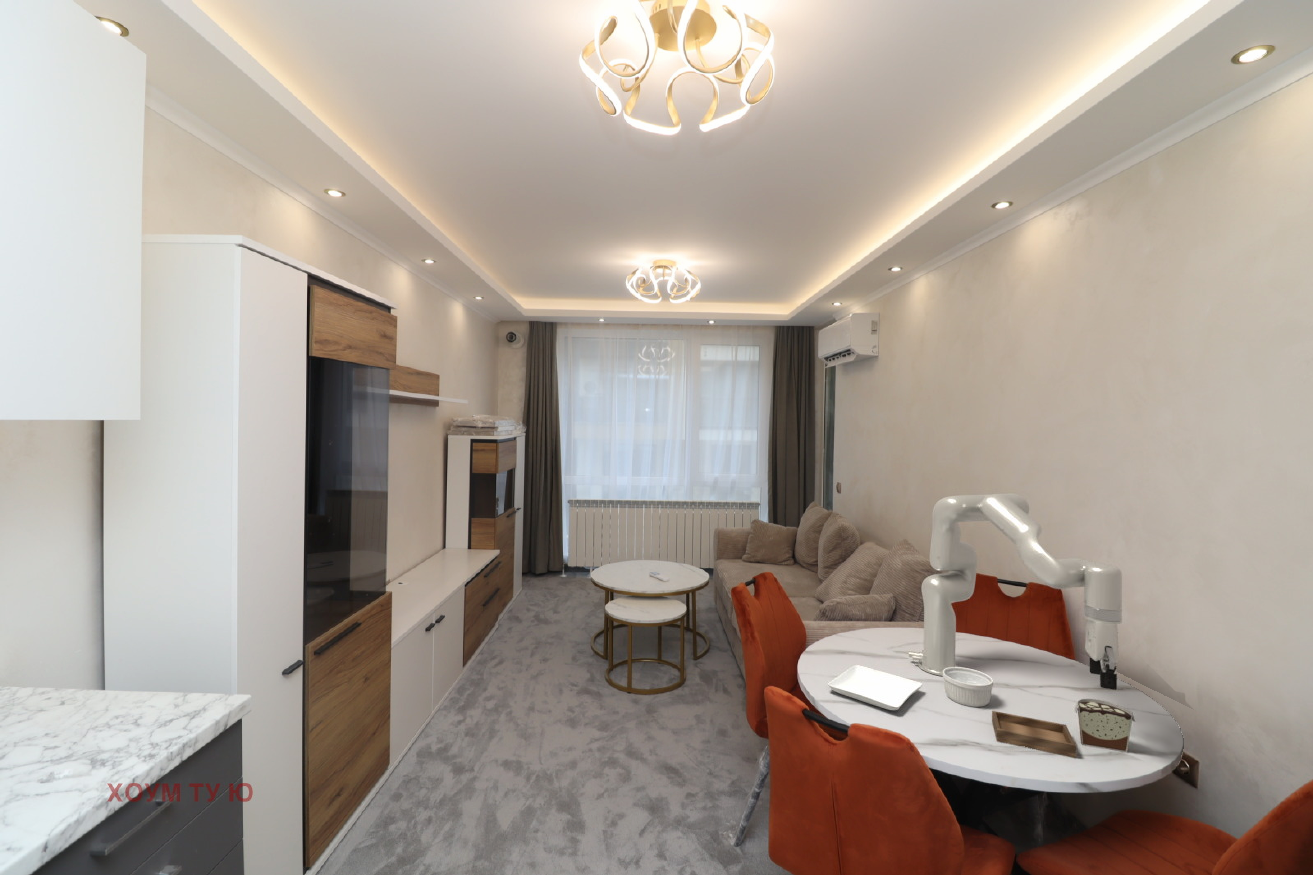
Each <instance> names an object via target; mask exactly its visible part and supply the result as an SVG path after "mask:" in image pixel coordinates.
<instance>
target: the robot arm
mask: <svg viewBox="0 0 1313 875" xmlns="http://www.w3.org/2000/svg"><path fill="white" fill-rule="evenodd" d="M931 513H932V516H931V517H932V518H931V519H932V530H931V540H930V549H929V564H930V566H931V567H932V568H933V569H934V570H936V571H939V572H943V573H935V574H932V575H929V576H927V577H925V578H924V580H923V581H922V582H921V595H922V601H923V649H922V652H921V651H919V652H915V651H908V658H912V660H913V661H914V660H915V661H917V664H918V665H917V666H918V667H919V668H920V669H921V670H922V671H924V672H926V673H929V674H932V675H936V676H940V677H943V670H944V669H946V668H949V667H959V666H958V665H957V664H956V641H957V640H956V638H957V637H956V636H957V635H956V634H957V633H956V632H957V625H956V624H957V617H956V613H955V610H954V609H953V606H952V603H957V602H958V603H959V602H964V601H967V600H968V599H970V598H971V597H972V596H973V595H974V591H975V588H976V587H975V585H976V579H977V578H976V577H977V569H978V555H977V553H976V550H975V548H974V547H973V546H972V544H971V543H968V542H967V541H961V536H962V532H961V527H960V524H959V523H964V522H966V523H967V522H968V523H969V522H985V521H988V522H989V523H991V524H992V525H993V526H994V527H996V528H997V529H998V530H999V531H1000V532H1001V533H1002V534H1004V536H1006V537H1007V538H1008V539H1009V540H1010V541H1011V543H1013V544H1014V545H1015V546H1016V551H1017V554H1018V556H1019V557H1020V558H1019V559H1020V560H1021V562H1022V564H1023V565H1024V566H1025V567H1026V569H1028V570H1029V572H1031V573H1032V575H1034V576H1035V577H1036V578H1037V579H1038V580H1039V581H1041V582H1042V583H1043V584H1044V585H1046V586H1048V587H1050V588H1052V589H1055V590H1063V589H1065V590H1066V589H1071V588H1083V587H1084V588H1083V590H1084V599H1083V603H1084V604H1083V606H1084V607H1083V608H1084V609H1083V610H1084V612H1083V615H1084V618H1085V619H1086V623H1085V625H1086V626H1085V640H1084V641H1085V645H1084V649H1085V651H1086V652H1087V654H1088V655H1089V673H1090V674H1092V675H1099V686H1100V688H1102V689H1107V690H1114V691H1116V690H1117V689H1118V687H1117V686H1118V684H1117V683H1118V680H1117V679H1118V672H1117V666H1116V664H1117V663H1118V662H1119V632H1118V631H1119V630H1118V625H1119V624H1122V622H1123V620H1122V619H1123V618H1122V617H1123V616H1122V615H1123V611H1122V610H1123V609H1122V608H1123V604H1122V603H1123V602H1122V601H1123V596H1122V595H1123V576H1122V575H1123V574H1122V571H1121V569H1120V568H1118V567H1116V566H1114V565H1112V564H1111V565H1110V564H1103V563H1096V562H1093V561H1089V560H1086V559H1083V558H1080V557H1078V558H1077V557H1070V558H1060V559H1057V558H1055V557H1054V556H1053V555H1052V554H1051V553H1049V552H1048V551H1047V550H1046V549H1045V548H1044V547H1043V546H1042V545H1041V543H1040V542H1039V537H1040V535H1041V534H1042V530H1043V529H1042V526H1041V525H1040V524H1039V523H1038V522H1037V521H1036V520H1035V519H1034V518H1033V517H1031V516H1030V515H1029V513H1030V505H1029V503H1028V501H1027V500H1026V499H1025V498H1024V497H1023V496H1022V495H1020V494H1017V493H1014V492H1012V493H1011V492H1008V493H993V494H962V495H961V494H960V495H959V494H957V495H951V496H946V497H943V498H941V499H939V500H938V501H937V502H936V503H935V504H934V506H933V510H932V512H931ZM945 572H946V573H945Z"/></svg>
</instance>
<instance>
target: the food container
mask: <svg viewBox="0 0 1313 875" xmlns="http://www.w3.org/2000/svg"><path fill="white" fill-rule="evenodd" d="M1074 712H1075V713H1076V714H1077V715H1078V724H1079V736H1080V744H1081V745H1082V746H1085V747H1090V748H1098V749H1104V750H1109V751H1115V752H1121V753H1128V750H1129V743H1130V735H1131V731H1132V723H1133V722H1134V723H1135V722H1136V719H1135V716H1134V714H1133V712H1132V711H1131V710H1129V709H1128V708H1126V707H1123V706H1122V705H1119V704H1116V703H1113V702H1110V701H1106V700H1103V699H1102V700H1100V699H1097V698H1081V699H1078V701H1077V702H1076V704H1075V707H1074Z"/></svg>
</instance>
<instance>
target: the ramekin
mask: <svg viewBox="0 0 1313 875" xmlns="http://www.w3.org/2000/svg"><path fill="white" fill-rule="evenodd" d="M942 677H943V685H944V692H945V694H946V696H947V697H948V698H949V699H950V700H951V701H953V702H955V703H957V704H959V705H963V706H967V707H973V708H981V707H986V706H988V704H989V703H990V701H991V698H992V697H991V696H992V692H993V686H994V680H993V678H992V677H991V676H990V675H988V674H986V673H984V672H982V671H979V670H976V669H972V668H967V667H961V666H958V667H949V668H946V669H944V670H943V676H942Z"/></svg>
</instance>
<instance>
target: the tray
mask: <svg viewBox="0 0 1313 875" xmlns="http://www.w3.org/2000/svg"><path fill="white" fill-rule="evenodd" d="M991 724H992V727H993V731H994V736H995V739H996V742H998V743H1004V744H1007V743H1009V744H1008V745H1012V744H1013V745H1014V746H1017V747H1021V746H1025V747H1024V748H1026V747H1028V748H1027V749H1031V748H1032V750H1035V749H1036V751H1041V752H1045V753H1050V754H1054V755H1060V756H1063V757H1069V758H1073V759H1077V744H1076V742H1075V740H1074V738H1073V735H1072V734H1071V732H1070V731H1069V728H1068V726H1067V724H1064V723H1058V722H1054V721H1047V720H1042V719H1037V718H1032V717H1028V716H1022V715H1017V714H1012V713H1008V712H1007V713H1006V712H1000V711H997V710H996V711H995V710H991Z"/></svg>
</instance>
